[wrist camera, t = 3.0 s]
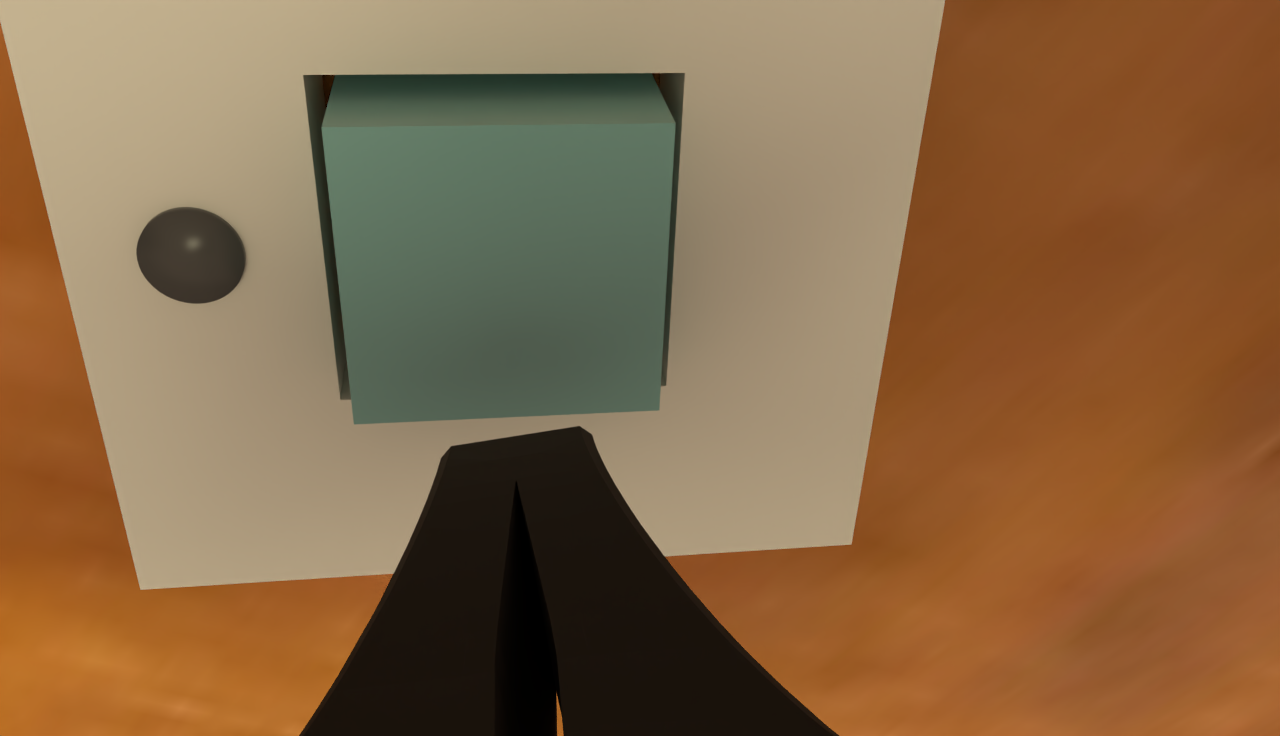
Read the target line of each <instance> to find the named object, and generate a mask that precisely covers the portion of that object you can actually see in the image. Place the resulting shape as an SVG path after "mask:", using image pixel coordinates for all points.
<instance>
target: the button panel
mask: <svg viewBox="0 0 1280 736" xmlns="http://www.w3.org/2000/svg"><path fill="white" fill-rule="evenodd" d="M944 4H945V0H0V22H1V26H2V30H3V34H4V38H5V42H6V46H7V50H8V54H9V58H10V62H11V66H12V71H13V75H14V79H15V83H16V87H17V91H18V95H19V99H20V103H21V107H22V111H23V115H24V119H25V123H26V127H27V131H28V135H29V139H30V144H31V148H32V152H33V156H34V160H35V164H36V168H37V172H38V176H39V180H40V184H41V188H42V192H43V196H44V200H45V204H46V208H47V212H48V217H49V221H50V225H51V229H52V233H53V237H54V241H55V245H56V249H57V253H58V257H59V261H60V265H61V269H62V273H63V277H64V281H65V285H66V289H67V294H68V298H69V302H70V306H71V310H72V314H73V318H74V322H75V326H76V330H77V334H78V338H79V342H80V346H81V350H82V354H83V358H84V362H85V367H86V371H87V375H88V379H89V383H90V387H91V391H92V395H93V399H94V403H95V407H96V411H97V415H98V419H99V423H100V427H101V431H102V435H103V440H104V444H105V448H106V452H107V456H108V460H109V464H110V468H111V472H112V476H113V480H114V484H115V488H116V492H117V496H118V500H119V504H120V508H121V513H122V517H123V521H124V525H125V529H126V533H127V537H128V541H129V545H130V549H131V553H132V557H133V561H134V565H135V569H136V573H137V577H138V581H139V586H140V590H144V589H159V588H175V587H191V586H207V585H222V584H238V583H254V582H269V581H285V580H301V579H317V578H332V577H348V576H364V575H379V574H394V572H395V570H396V568H397V566H398V564H399V562H400V559H401V557H402V555H403V553H404V551H405V549H406V547H407V545H408V543H409V541H410V538H411V536H412V534H413V531H414V529H415V527H416V524H417V522H418V520H419V517H420V515H421V513H422V510H423V508H424V505H425V503H426V500H427V498H428V495H429V493H430V490H431V487H432V484H433V481H434V479H435V476H436V473H437V470H438V466H439V463H440V460H441V457H442V456H443V455H444V454H445V453H446V451H447V450H448V449H449V448H450V447H451V446H455V445H461V444H467V443H474V442H480V441H487V440H493V439H499V438H506V437H512V436H518V435H525V434H531V433H537V432H544V431H550V430H556V429H563V428H569V427H576V426H580V427H582V428H583V429H585V430H586V431H588V432H589V433H591V434H592V435H593V439H594V442H595V445H596V447H597V450H598V452H599V454H600V456H601V459H602V461H603V463H604V465H605V467H606V469H607V471H608V472H609V474H610V476H611V478H612V479H613V481H614V483H615V485H616V486H617V488H618V490H619V491H620V493H621V494H622V496H623V498H624V499H625V501H626V503H627V504H628V506H629V507H630V509H631V510H632V512H633V513H634V515H635V516H636V518H637V519H638V521H639V522H640V524H641V525H642V527H643V528H644V529H645V531H646V532H647V533H648V535H649V536H650V537H651V539H652V540H653V541H654V543H655V544H656V546H657V547H658V548H659V550H660V551H661V552H662V554H663V555H664V556H678V555H694V554H709V553H725V552H741V551H756V550H772V549H788V548H804V547H819V546H835V545H851V544H852V538H853V532H854V527H855V521H856V515H857V509H858V503H859V498H860V492H861V486H862V480H863V474H864V469H865V463H866V457H867V451H868V445H869V440H870V434H871V428H872V422H873V416H874V411H875V405H876V399H877V393H878V387H879V381H880V376H881V370H882V364H883V358H884V352H885V347H886V341H887V335H888V329H889V323H890V318H891V312H892V306H893V300H894V294H895V289H896V283H897V277H898V271H899V265H900V260H901V254H902V248H903V242H904V236H905V230H906V225H907V219H908V213H909V207H910V201H911V196H912V190H913V184H914V178H915V172H916V167H917V161H918V155H919V149H920V143H921V138H922V132H923V126H924V120H925V114H926V109H927V103H928V97H929V91H930V85H931V80H932V74H933V68H934V62H935V56H936V50H937V45H938V39H939V33H940V27H941V21H942V16H943V10H944ZM568 73H660V83H659V90H660V92H661V94H662V96H663V98H664V100H665V102H666V104H667V106H668V108H669V111H670V113H671V115H672V117H673V119H674V121H675V123H676V125H675V142H674V160H673V178H672V196H671V213H670V231H669V249H668V267H667V284H666V302H665V320H664V337H663V355H662V373H661V391H660V408H659V410H658V411H636V412H614V413H593V414H571V415H549V416H527V417H506V418H484V419H462V420H440V421H419V422H397V423H375V424H354V422H353V413H352V403H351V394H350V385H349V376H348V367H347V357H346V348H345V339H344V330H343V321H342V312H341V302H340V293H339V284H338V275H337V266H336V256H335V247H334V238H333V229H332V220H331V210H330V201H329V192H328V183H327V174H326V165H325V155H324V146H323V137H322V128H321V127H322V123H323V119H324V116H325V112H326V106H325V97H324V87H323V78H322V75H379V74H568Z"/></svg>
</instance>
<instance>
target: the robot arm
mask: <svg viewBox="0 0 1280 736" xmlns="http://www.w3.org/2000/svg"><path fill="white" fill-rule="evenodd" d="M556 691H557V696H558V700H559V705H560V710H561V714H562V721H563V732H564V736H839V735H838V734H836V733H835V732H834V731H832V730H831V729H830V728H829V727H828V726H826V725H825V724H824V723H823V722H822V721H821V720H820V719H818V718H817V717H816V716H815V715H814V714H813V713H812V712H811V711H809V710H808V709H807V708H806V707H805V706H804V705H803V704H802V703H801V702H799V701H798V700H797V699H796V698H795V697H794V696H793V695H792V694H790V693H789V692H788V691H787V690H786V689H785V688H784V687H783V686H782V685H781V684H780V683H779V682H778V681H776V680H775V679H774V678H773V677H772V676H771V675H770V674H769V673H768V672H767V671H766V670H765V669H764V668H763V667H762V666H761V665H760V664H759V663H758V662H757V661H756V660H755V659H754V658H753V657H752V656H751V655H750V654H749V653H748V652H747V651H746V650H745V649H744V648H743V647H742V646H741V645H740V644H739V643H738V642H737V641H736V640H735V639H734V638H733V637H732V636H731V634H730V633H729V632H728V631H727V630H726V629H725V628H724V627H723V626H722V625H721V624H720V623H719V621H718V620H717V619H716V618H715V617H714V616H713V615H712V613H711V612H710V611H709V610H708V609H707V608H706V607H705V605H704V604H703V603H702V602H701V601H700V600H699V598H698V597H697V596H696V595H695V594H694V593H693V592H692V590H691V589H690V588H689V587H688V586H687V584H686V583H685V582H684V581H683V579H682V578H681V577H680V576H679V574H678V573H677V572H676V571H675V569H674V568H673V567H672V566H671V564H670V563H669V562H668V560H667V559H666V558H665V556H664V555H663V554H662V552H661V551H660V550H659V548H658V547H657V546H656V544H655V543H654V541H653V540H652V539H651V537H650V536H649V535H648V533H647V532H646V531H645V529H644V528H643V527H642V525H641V524H640V522H639V521H638V519H637V518H636V516H635V515H634V513H633V512H632V510H631V509H630V507H629V506H628V504H627V503H626V501H625V499H624V498H623V496H622V494H621V493H620V491H619V490H618V488H617V486H616V485H615V483H614V481H613V479H612V478H611V476H610V474H609V472H608V471H607V469H606V467H605V465H604V463H603V461H602V459H601V456H600V454H599V452H598V450H597V447H596V445H595V442H594V439H593V435H592V434H591V433H589V432H588V431H586V430H585V429H583V428H582V427H580V426H576V427H569V428H563V429H556V430H550V431H544V432H537V433H531V434H525V435H518V436H512V437H506V438H499V439H493V440H487V441H480V442H474V443H467V444H461V445H455V446H451V447H450V448H449V449H448V450H447V451H446V453H445V454H444V455H443V456H442V457H441V460H440V463H439V466H438V470H437V473H436V476H435V479H434V481H433V484H432V487H431V490H430V493H429V495H428V498H427V500H426V503H425V505H424V508H423V510H422V513H421V515H420V517H419V520H418V522H417V524H416V527H415V529H414V531H413V534H412V536H411V538H410V541H409V543H408V545H407V547H406V549H405V551H404V553H403V555H402V557H401V559H400V562H399V564H398V566H397V568H396V570H395V572H394V574H393V576H392V578H391V580H390V582H389V584H388V586H387V588H386V590H385V592H384V594H383V596H382V598H381V600H380V602H379V604H378V606H377V608H376V610H375V612H374V614H373V615H372V617H371V619H370V621H369V622H368V624H367V626H366V628H365V629H364V631H363V633H362V635H361V636H360V638H359V640H358V642H357V643H356V645H355V647H354V649H353V650H352V652H351V654H350V656H349V657H348V659H347V661H346V663H345V664H344V666H343V668H342V670H341V671H340V673H339V675H338V677H337V678H336V680H335V681H334V683H333V685H332V686H331V688H330V689H329V691H328V693H327V694H326V696H325V697H324V699H323V700H322V702H321V704H320V705H319V707H318V708H317V710H316V711H315V713H314V714H313V716H312V717H311V719H310V720H309V722H308V723H307V725H306V726H305V728H304V729H303V731H302V732H301V734H300V735H299V736H557V704H556Z"/></svg>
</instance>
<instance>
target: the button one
mask: <svg viewBox="0 0 1280 736" xmlns="http://www.w3.org/2000/svg"><path fill="white" fill-rule="evenodd" d="M675 125H676V123H675V121H674V119H673V117H672V115H671V113H670V111H669V108H668V106H667V104H666V102H665V100H664V98H663V96H662V94H661V92H660V90H659V88H658V85H657V83H656V81H655V79H654V77H653V75H652V73H568V74H379V75H335V78H334V81H333V85H332V89H331V93H330V97H329V100H328V104H327V108H326V112H325V116H324V119H323V123H322V127H321V128H322V137H323V146H324V155H325V165H326V174H327V183H328V192H329V201H330V210H331V220H332V229H333V238H334V247H335V256H336V266H337V275H338V284H339V293H340V302H341V312H342V321H343V330H344V339H345V348H346V357H347V367H348V376H349V385H350V394H351V403H352V413H353V422H354V424H375V423H397V422H419V421H440V420H462V419H484V418H506V417H527V416H549V415H571V414H593V413H614V412H636V411H658V410H659V408H660V391H661V373H662V355H663V337H664V320H665V302H666V284H667V267H668V249H669V231H670V213H671V196H672V178H673V160H674V142H675Z"/></svg>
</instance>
